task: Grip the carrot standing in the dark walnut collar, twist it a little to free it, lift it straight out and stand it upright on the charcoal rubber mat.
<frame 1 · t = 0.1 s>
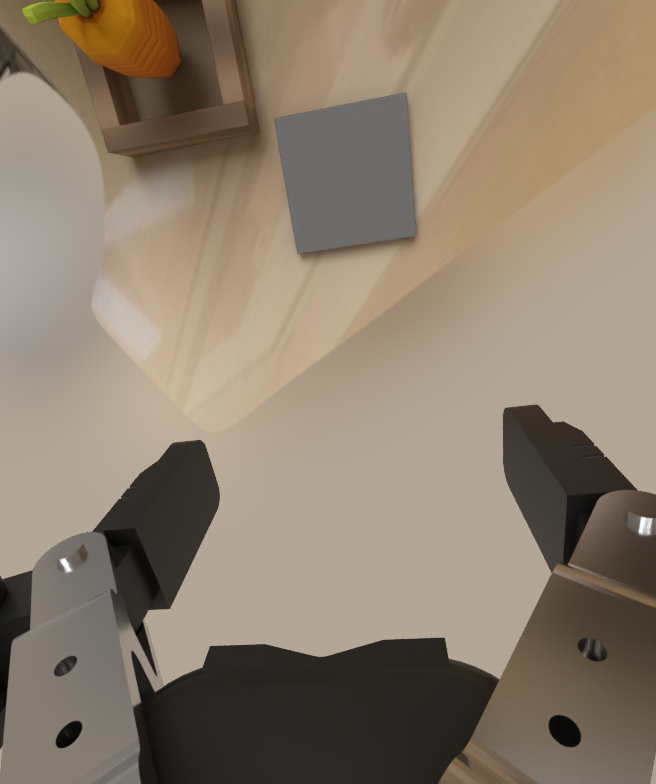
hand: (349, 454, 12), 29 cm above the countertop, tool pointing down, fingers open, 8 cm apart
socket collar: (174, 62, 33), on the countertop
carrot: (175, 63, 33), on the countertop
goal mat: (348, 180, 35), on the countertop
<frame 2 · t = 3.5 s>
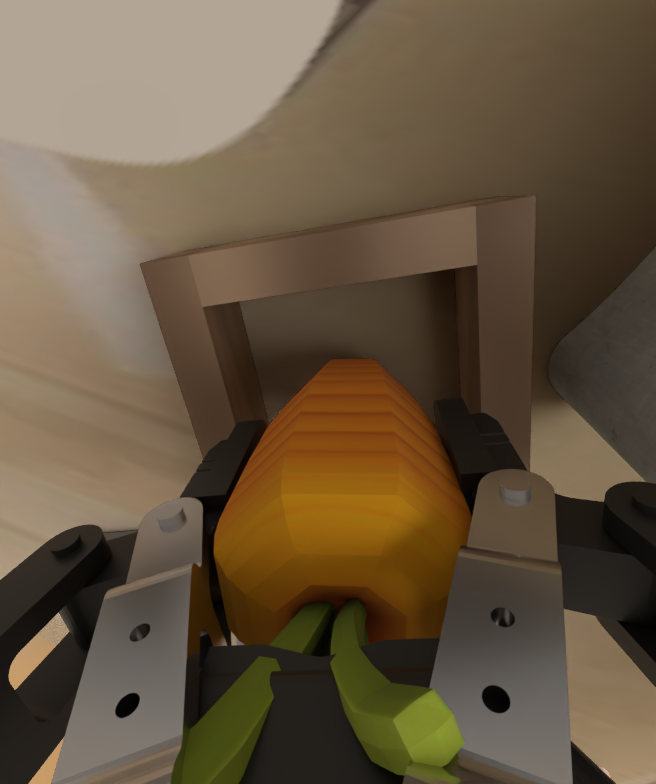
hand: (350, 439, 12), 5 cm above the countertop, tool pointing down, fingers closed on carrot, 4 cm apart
socket collar: (355, 371, 17), on the countertop
carrot: (355, 369, 17), on the countertop, touching gripper
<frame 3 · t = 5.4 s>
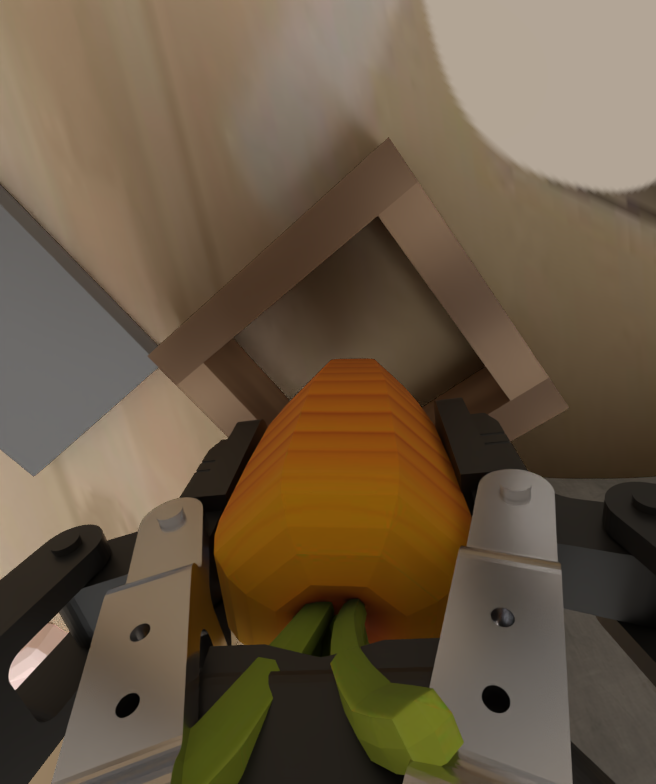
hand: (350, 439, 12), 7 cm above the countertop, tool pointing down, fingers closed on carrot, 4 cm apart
soap bar: (85, 664, 31), on the countertop
socket collar: (356, 350, 19), on the countertop
carrot: (355, 369, 17), point 2 cm above the countertop, touching gripper
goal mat: (20, 339, 20), on the countertop
hip flask: (580, 498, 21), on the countertop
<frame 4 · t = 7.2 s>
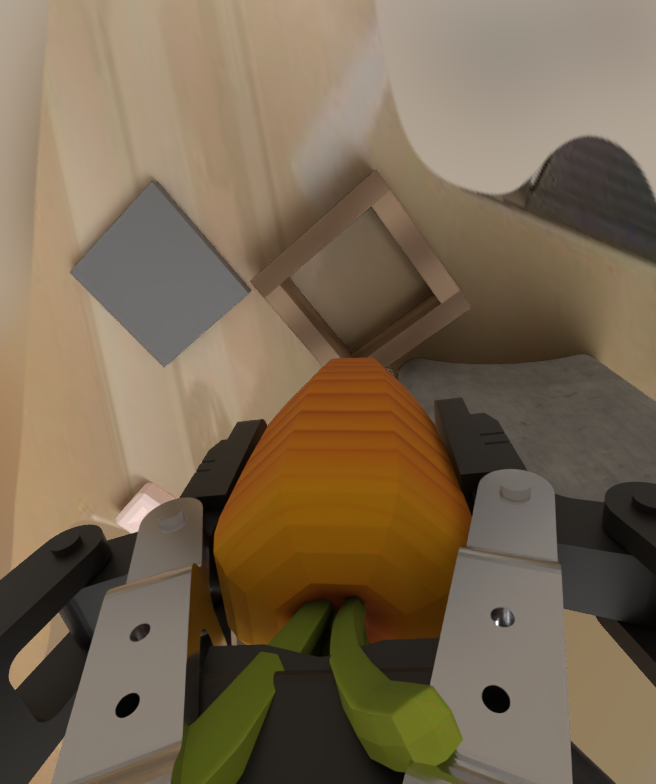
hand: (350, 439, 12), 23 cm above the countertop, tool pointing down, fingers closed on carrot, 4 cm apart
soap bar: (174, 517, 45), on the countertop
socket collar: (360, 284, 33), on the countertop
carrot: (355, 368, 17), point 18 cm above the countertop, touching gripper
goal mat: (163, 280, 34), on the countertop
hip flask: (494, 378, 36), on the countertop
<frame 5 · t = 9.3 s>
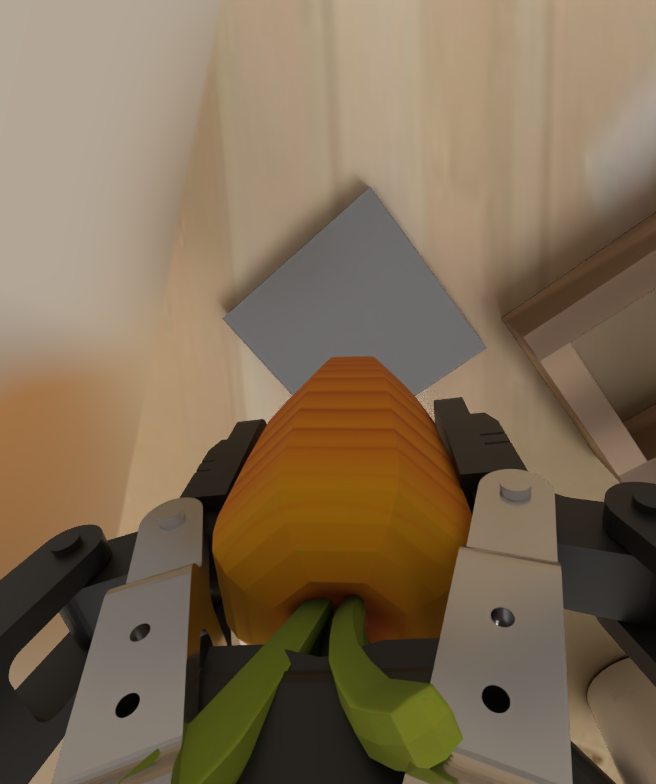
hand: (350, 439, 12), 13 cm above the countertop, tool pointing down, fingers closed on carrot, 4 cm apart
socket collar: (650, 334, 23), on the countertop
carrot: (355, 367, 17), point 7 cm above the countertop, touching gripper
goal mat: (353, 328, 24), on the countertop
when the fingers open (8 cm above the countertop, at t = 10.7 s): carrot drops 1 cm, resting on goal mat.
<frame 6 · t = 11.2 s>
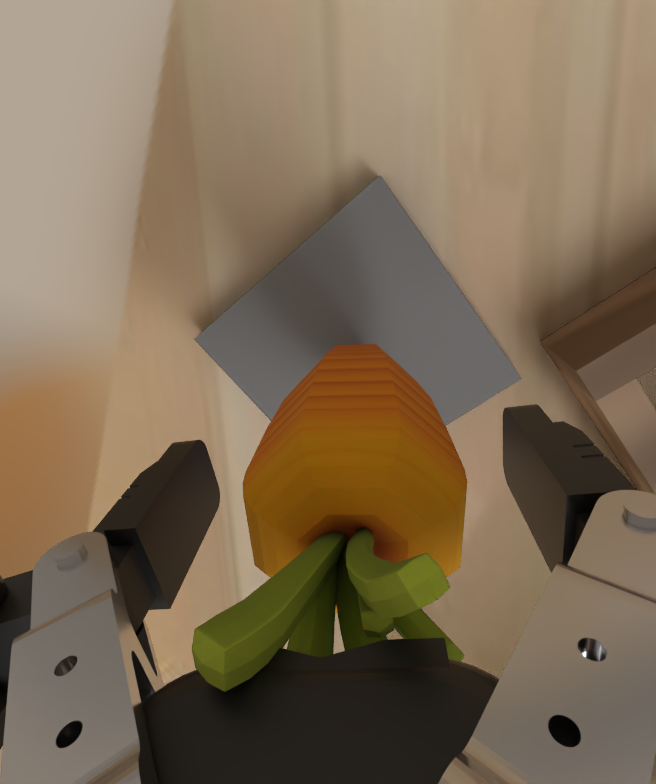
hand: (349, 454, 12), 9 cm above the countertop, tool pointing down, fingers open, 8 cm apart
carrot: (358, 357, 19), point 1 cm above the countertop, touching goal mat
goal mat: (356, 351, 19), on the countertop
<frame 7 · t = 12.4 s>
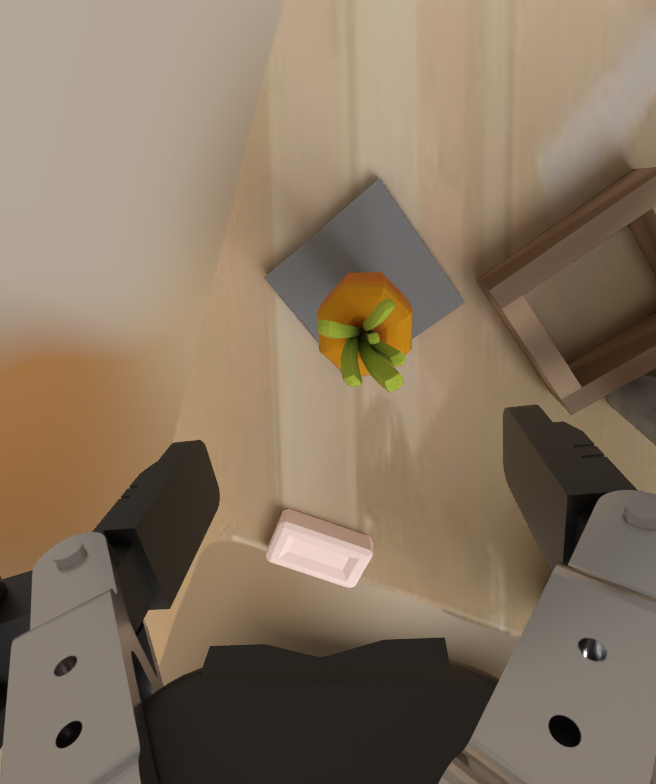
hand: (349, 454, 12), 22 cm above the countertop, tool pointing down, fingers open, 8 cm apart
soap bar: (320, 538, 42), on the countertop
socket collar: (587, 293, 30), on the countertop
carrot: (365, 289, 30), point 1 cm above the countertop, touching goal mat
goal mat: (363, 286, 31), on the countertop
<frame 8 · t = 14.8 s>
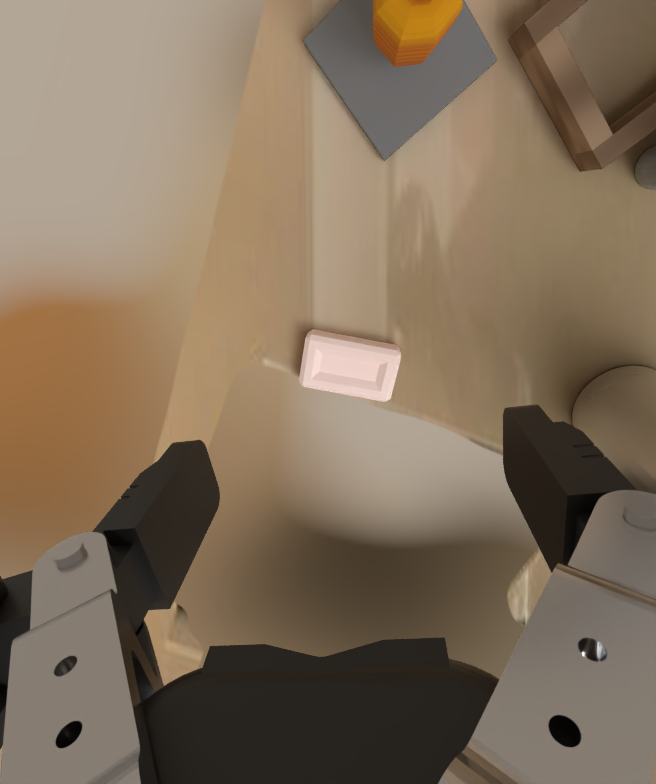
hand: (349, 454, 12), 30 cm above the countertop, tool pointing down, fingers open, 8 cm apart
soap bar: (349, 360, 43), on the countertop
socket collar: (616, 51, 31), on the countertop
carrot: (400, 51, 31), point 1 cm above the countertop, touching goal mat
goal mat: (398, 54, 32), on the countertop
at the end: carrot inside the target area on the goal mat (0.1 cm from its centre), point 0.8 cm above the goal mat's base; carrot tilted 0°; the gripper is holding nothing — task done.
